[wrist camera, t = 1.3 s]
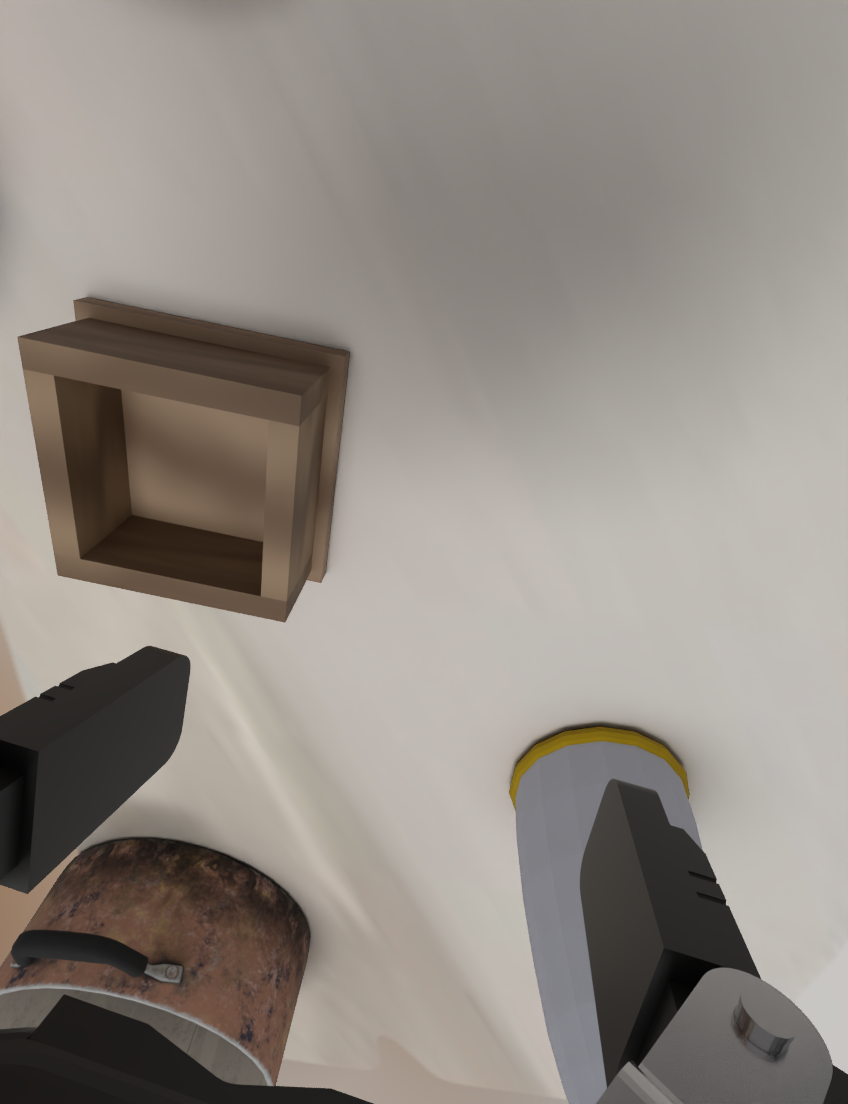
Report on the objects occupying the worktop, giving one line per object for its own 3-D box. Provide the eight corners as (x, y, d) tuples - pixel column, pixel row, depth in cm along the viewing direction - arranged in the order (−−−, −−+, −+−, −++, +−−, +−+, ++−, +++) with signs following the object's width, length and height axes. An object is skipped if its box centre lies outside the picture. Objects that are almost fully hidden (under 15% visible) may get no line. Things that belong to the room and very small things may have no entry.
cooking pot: (332, 1007, 59) (301, 1156, 50) (121, 986, 61) (55, 1124, 52) (282, 811, 44) (226, 971, 35) (7, 794, 46) (-114, 939, 37)
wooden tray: (87, 297, 27) (-2, 316, 22) (350, 351, 27) (318, 383, 22) (111, 528, 33) (47, 583, 28) (325, 573, 33) (296, 635, 28)
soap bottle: (543, 698, 36) (628, 1547, 13) (721, 751, 36) (1094, 1645, 14) (481, 810, 41) (466, 1535, 19) (635, 854, 42) (800, 1604, 19)
